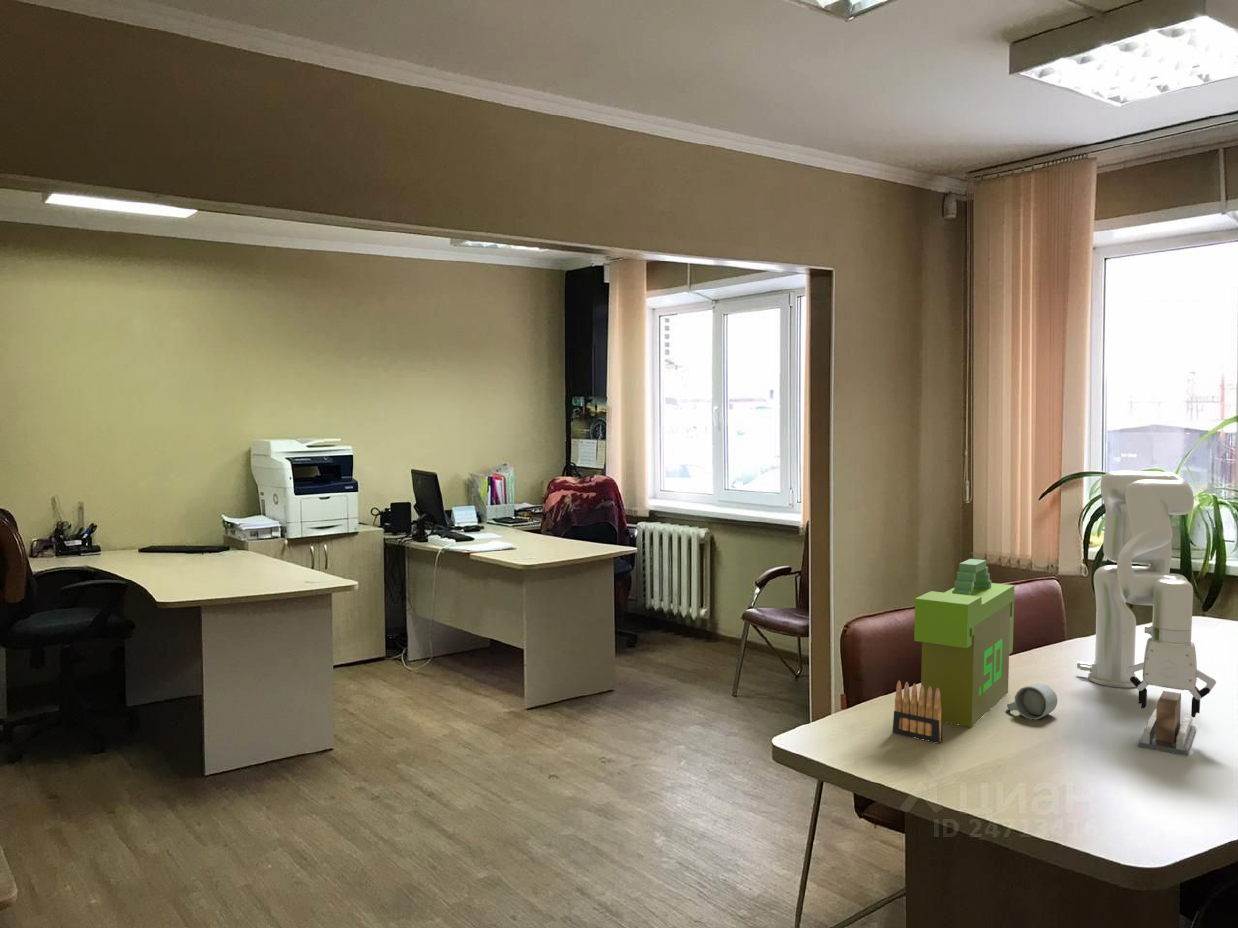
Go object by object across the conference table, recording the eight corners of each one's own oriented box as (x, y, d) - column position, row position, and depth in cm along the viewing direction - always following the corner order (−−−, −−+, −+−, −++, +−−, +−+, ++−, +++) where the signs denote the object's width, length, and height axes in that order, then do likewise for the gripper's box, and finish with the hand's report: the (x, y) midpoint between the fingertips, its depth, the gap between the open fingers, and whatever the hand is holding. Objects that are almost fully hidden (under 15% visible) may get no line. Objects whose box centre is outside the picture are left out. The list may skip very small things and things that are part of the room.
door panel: (1155, 739, 206) (1156, 703, 205) (1162, 725, 215) (1163, 690, 215) (1174, 742, 204) (1175, 706, 203) (1179, 728, 213) (1181, 693, 213)
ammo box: (964, 734, 211) (968, 578, 209) (912, 724, 218) (915, 573, 216) (1011, 688, 248) (1015, 555, 246) (965, 681, 255) (968, 551, 253)
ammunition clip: (942, 741, 206) (943, 687, 206) (939, 743, 205) (940, 689, 204) (895, 731, 213) (896, 678, 213) (892, 733, 212) (893, 680, 211)
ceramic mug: (1059, 715, 226) (1059, 683, 225) (1046, 722, 220) (1047, 690, 219) (1014, 706, 233) (1015, 675, 233) (1001, 713, 227) (1001, 681, 227)
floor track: (1138, 746, 204) (1139, 730, 204) (1150, 722, 220) (1151, 708, 220) (1187, 755, 199) (1187, 739, 199) (1195, 730, 215) (1196, 715, 215)
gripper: (1124, 632, 210) (1122, 708, 211) (1216, 644, 200) (1213, 723, 201) (1129, 626, 217) (1127, 700, 218) (1218, 637, 206) (1215, 714, 207)
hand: (1168, 711), depth 209 cm, fingers open, 9 cm apart
